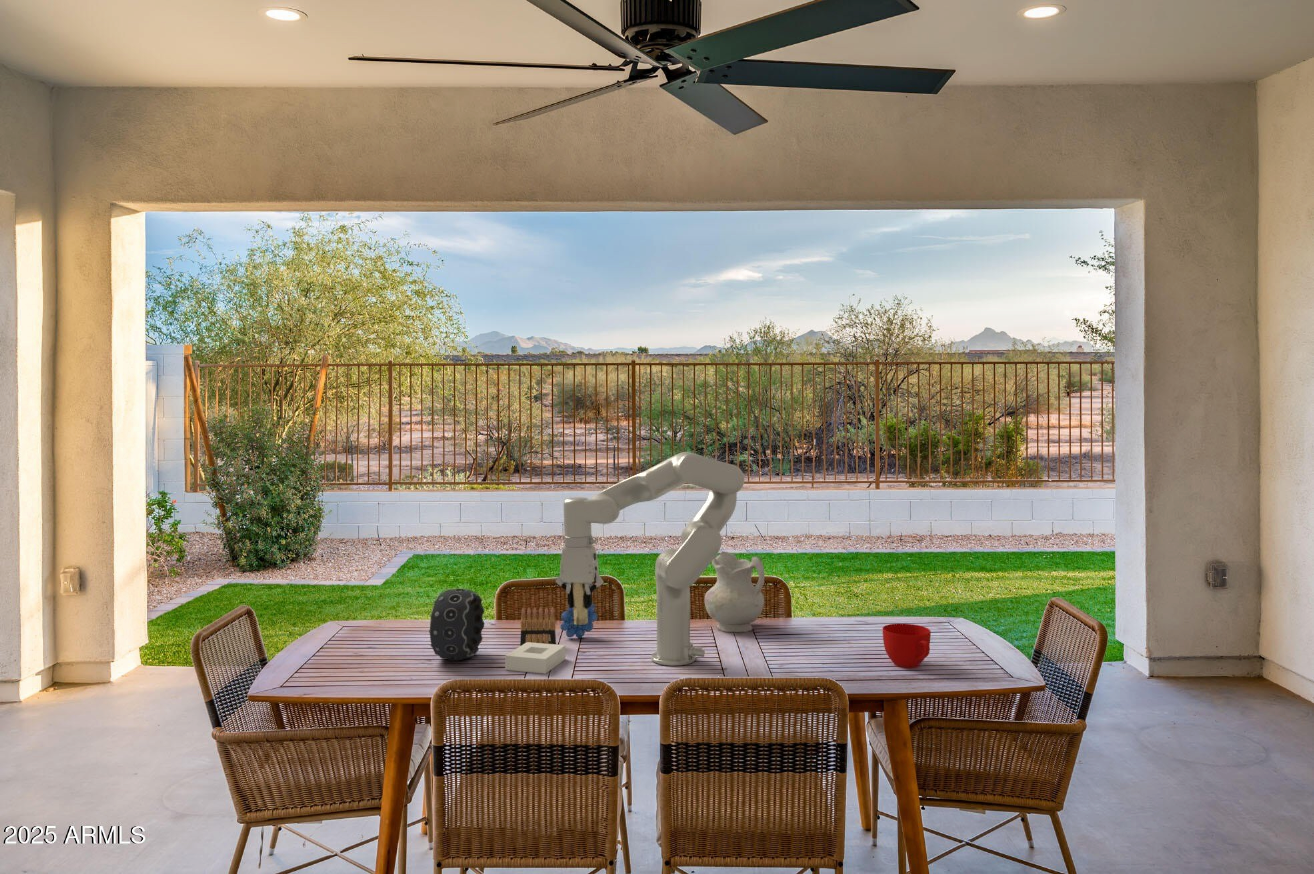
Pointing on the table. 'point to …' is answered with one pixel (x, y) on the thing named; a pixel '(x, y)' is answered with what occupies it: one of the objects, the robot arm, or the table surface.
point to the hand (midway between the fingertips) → (580, 606)
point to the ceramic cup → (906, 644)
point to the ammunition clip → (538, 627)
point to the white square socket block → (535, 657)
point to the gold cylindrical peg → (579, 604)
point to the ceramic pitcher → (735, 593)
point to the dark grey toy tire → (456, 624)
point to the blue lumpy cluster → (577, 629)
